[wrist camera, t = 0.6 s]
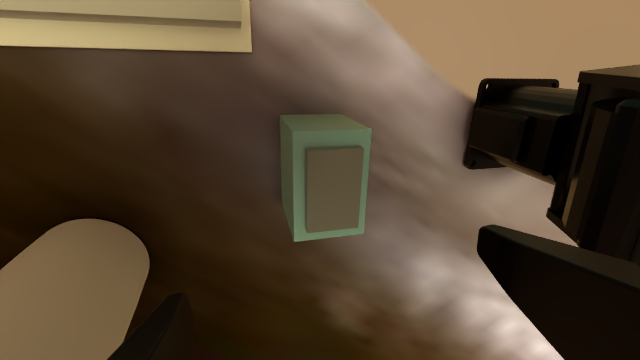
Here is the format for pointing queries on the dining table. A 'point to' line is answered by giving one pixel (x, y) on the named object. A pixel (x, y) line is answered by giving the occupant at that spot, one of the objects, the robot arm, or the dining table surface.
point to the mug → (72, 292)
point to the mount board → (128, 24)
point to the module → (324, 174)
